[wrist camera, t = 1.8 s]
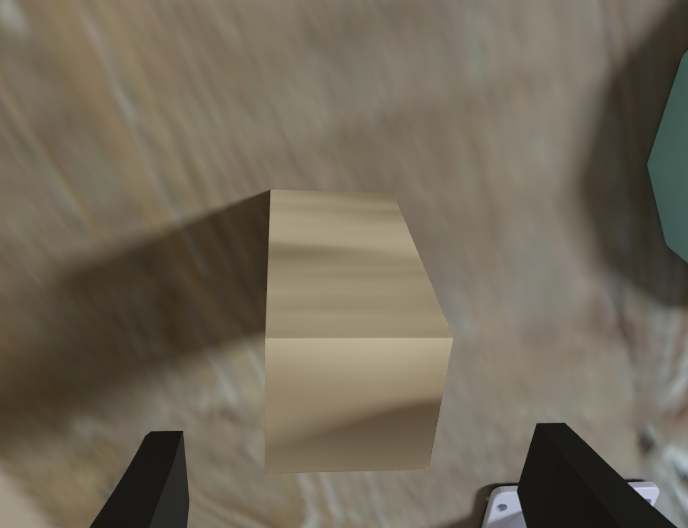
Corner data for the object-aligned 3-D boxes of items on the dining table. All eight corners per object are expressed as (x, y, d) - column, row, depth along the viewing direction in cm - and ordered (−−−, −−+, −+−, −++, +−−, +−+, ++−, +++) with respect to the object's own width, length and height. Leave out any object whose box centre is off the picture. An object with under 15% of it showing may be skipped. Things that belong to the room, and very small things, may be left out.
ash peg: (381, 295, 22) (428, 468, 15) (270, 294, 21) (265, 473, 14) (392, 192, 20) (453, 338, 13) (270, 189, 19) (265, 338, 12)
